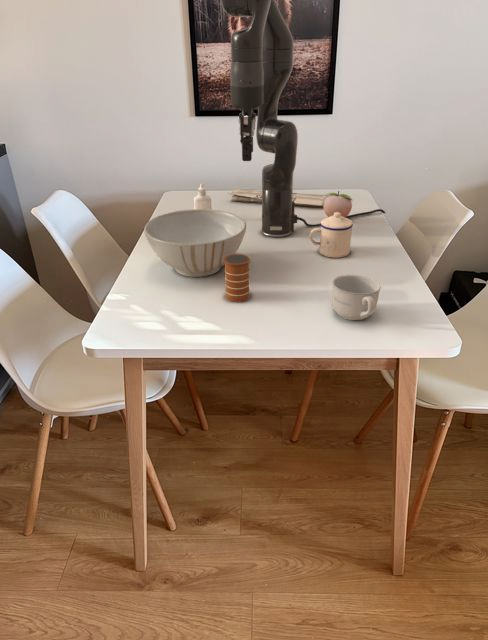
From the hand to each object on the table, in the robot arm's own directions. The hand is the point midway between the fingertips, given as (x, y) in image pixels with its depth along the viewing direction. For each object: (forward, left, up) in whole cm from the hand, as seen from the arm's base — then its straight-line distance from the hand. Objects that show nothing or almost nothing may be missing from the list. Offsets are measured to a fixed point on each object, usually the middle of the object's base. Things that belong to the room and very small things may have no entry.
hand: (247, 156), depth 136 cm
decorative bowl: (+10, -10, -30) cm, 33 cm away
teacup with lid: (-26, +4, -30) cm, 40 cm away
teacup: (-4, +36, -30) cm, 47 cm away
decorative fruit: (-46, -14, -30) cm, 57 cm away
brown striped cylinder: (+9, +13, -25) cm, 30 cm away
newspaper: (-44, -42, -30) cm, 68 cm away
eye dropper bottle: (-12, -42, -30) cm, 53 cm away
